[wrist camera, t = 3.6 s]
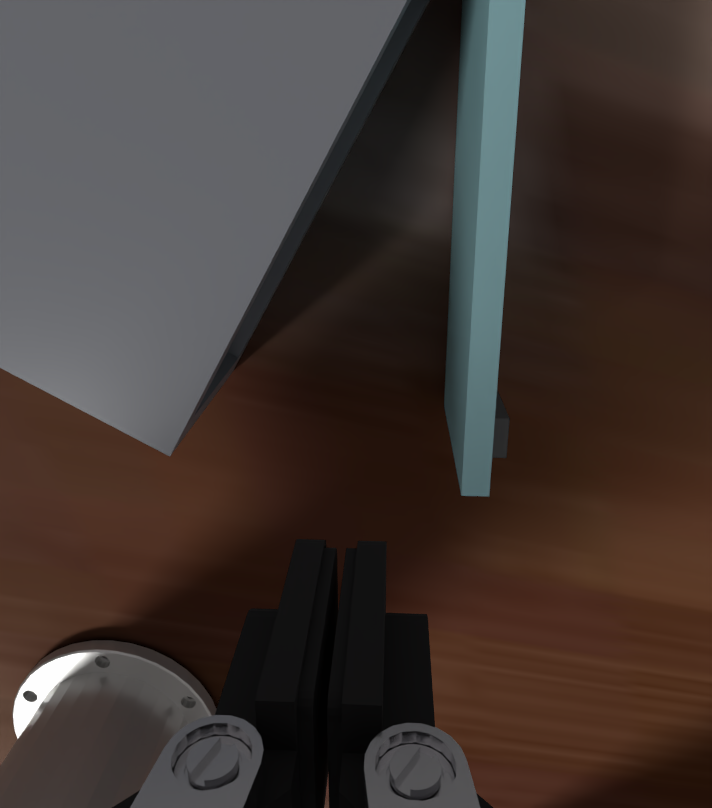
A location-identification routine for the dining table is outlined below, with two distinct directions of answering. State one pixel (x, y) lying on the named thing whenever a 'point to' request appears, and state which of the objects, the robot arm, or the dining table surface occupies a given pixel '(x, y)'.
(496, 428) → the side door
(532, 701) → the dining table surface
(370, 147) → the dining table surface
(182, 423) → the grey cabinet
